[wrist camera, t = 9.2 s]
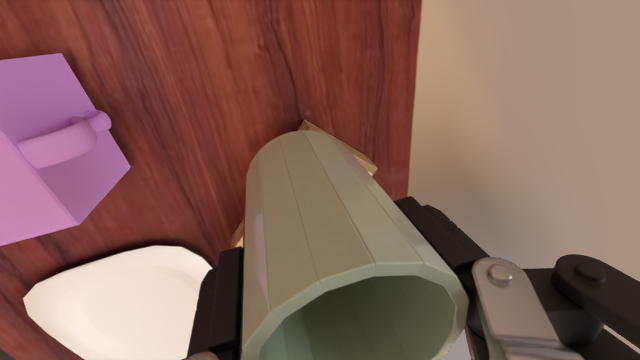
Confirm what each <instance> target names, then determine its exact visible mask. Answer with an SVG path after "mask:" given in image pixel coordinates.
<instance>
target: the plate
mask: <svg viewBox="0 0 640 360" xmlns="http://www.w3.org/2000/svg"><path fill="white" fill-rule="evenodd" d="M210 269H213V268H212V267H211V265H210V264H209V263H208V262H207V261H206V260H205V259H204V258H203V257H202V256H200V255H198V254H197V253H195V252H193V251H191V250H189V249H187V248H185V247H183V246H173V245H151V246H146V247H142V248H137V249H133V250H128V251H124V252H121V253H117V254H114V255H111V256H108V257H104V258H101V259H98V260H95V261H92V262H89V263H86V264H83V265H80V266H77V267H74V268H71V269H68V270H65V271H62V272H60V273H58V274H56V275H54V276H51V277H49V278H47V279H45V280H42V281H40V282H38V283H37V284H36V285H35V286H34V287H33V288H32V289H31V290H30V291H29V292H28V294H27V295H26V296H25V297H24V298H23V300H24V304H25V307H26V310H27V313H28V316H30V317H31V318H32V319H33V320H34V321H35V322H36V323H37V324H38V325H39V326H40V327H41V328H42V329H43V330H44V331H45V332H47V333H48V334H49V335H51V336H52V337H53V338H55V339H56V340H57V341H59V342H60V343H62V344H63V345H64V346H66V347H67V348H69V349H70V350H72V351H73V352H74V353H76V354H77V355H79V356H80V357H82V358H83V359H85V360H181V359H183V358H186V357H187V352H188V347H189V342H190V337H191V332H192V327H193V321H194V316H195V311H196V310H197V308H196V306H197V301H198V299H199V297H198V296H199V291H200V286H201V282H202V281H203V279H204V277H205V276H206V274H207V272H208V271H209V270H210Z"/></svg>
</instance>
